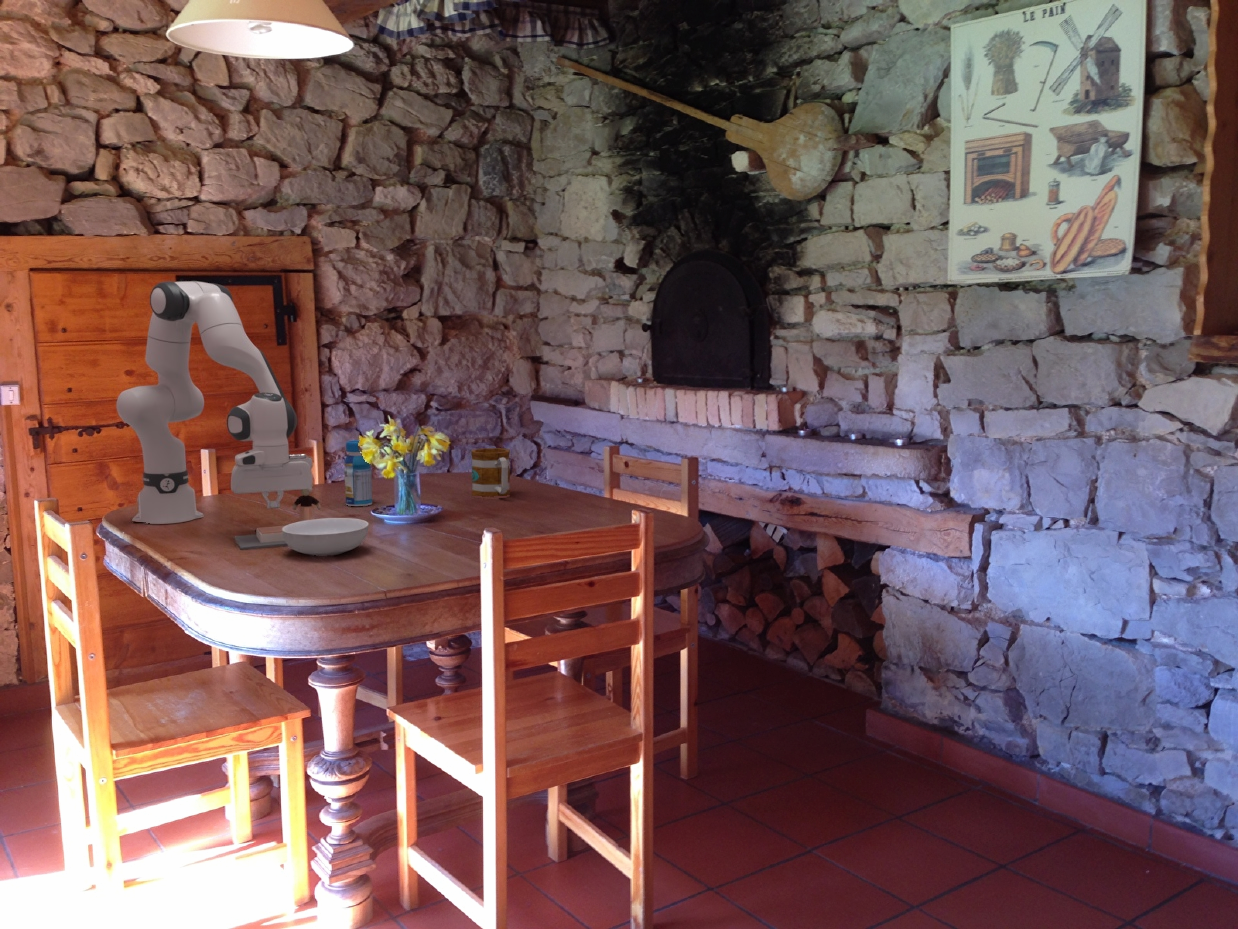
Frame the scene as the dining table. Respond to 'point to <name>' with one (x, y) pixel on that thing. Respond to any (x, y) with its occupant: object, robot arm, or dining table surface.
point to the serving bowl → (325, 535)
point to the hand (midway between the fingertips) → (273, 508)
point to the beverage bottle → (357, 477)
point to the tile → (270, 534)
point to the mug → (490, 472)
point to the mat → (255, 542)
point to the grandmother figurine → (306, 505)
